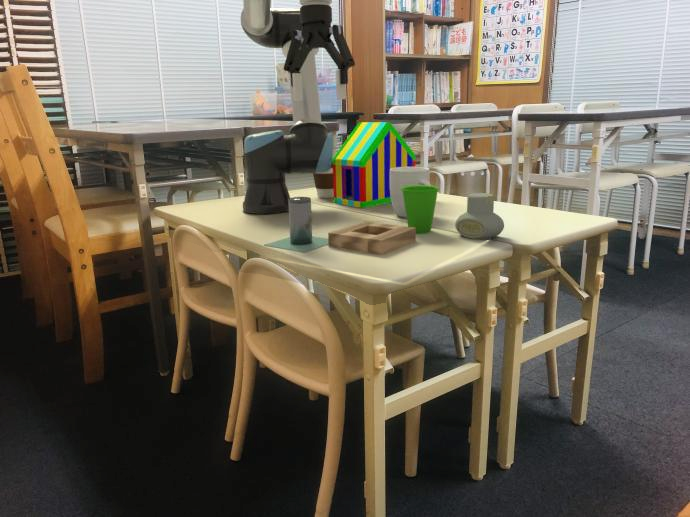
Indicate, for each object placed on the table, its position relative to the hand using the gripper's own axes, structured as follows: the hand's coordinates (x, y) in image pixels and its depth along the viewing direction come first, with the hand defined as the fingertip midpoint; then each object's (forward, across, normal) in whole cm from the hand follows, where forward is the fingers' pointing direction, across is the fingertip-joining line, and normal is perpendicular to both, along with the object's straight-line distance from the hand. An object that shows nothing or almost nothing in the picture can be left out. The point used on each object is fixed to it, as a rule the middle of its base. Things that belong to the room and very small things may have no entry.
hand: (319, 100), depth 134 cm
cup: (+32, +25, +6) cm, 41 cm away
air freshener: (+32, +39, +9) cm, 51 cm away
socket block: (+32, +22, -10) cm, 40 cm away
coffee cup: (+32, -29, +38) cm, 57 cm away
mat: (+32, +8, -18) cm, 37 cm away
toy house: (+32, -11, +40) cm, 52 cm away
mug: (+32, +13, +23) cm, 41 cm away
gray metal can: (+31, +8, -18) cm, 37 cm away
